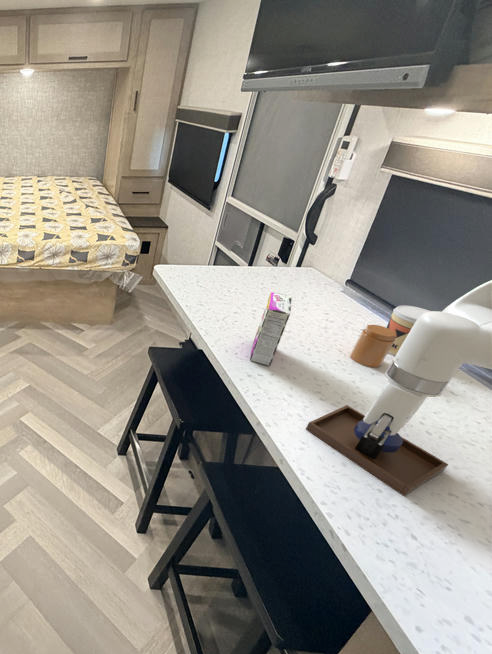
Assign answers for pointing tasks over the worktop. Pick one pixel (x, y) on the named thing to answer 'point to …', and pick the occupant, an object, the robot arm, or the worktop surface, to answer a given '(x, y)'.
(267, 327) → the candy bar box
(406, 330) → the coffee cup
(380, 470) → the walnut tray
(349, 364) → the worktop surface
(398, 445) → the jar lid
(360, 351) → the jam jar
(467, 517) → the worktop surface
